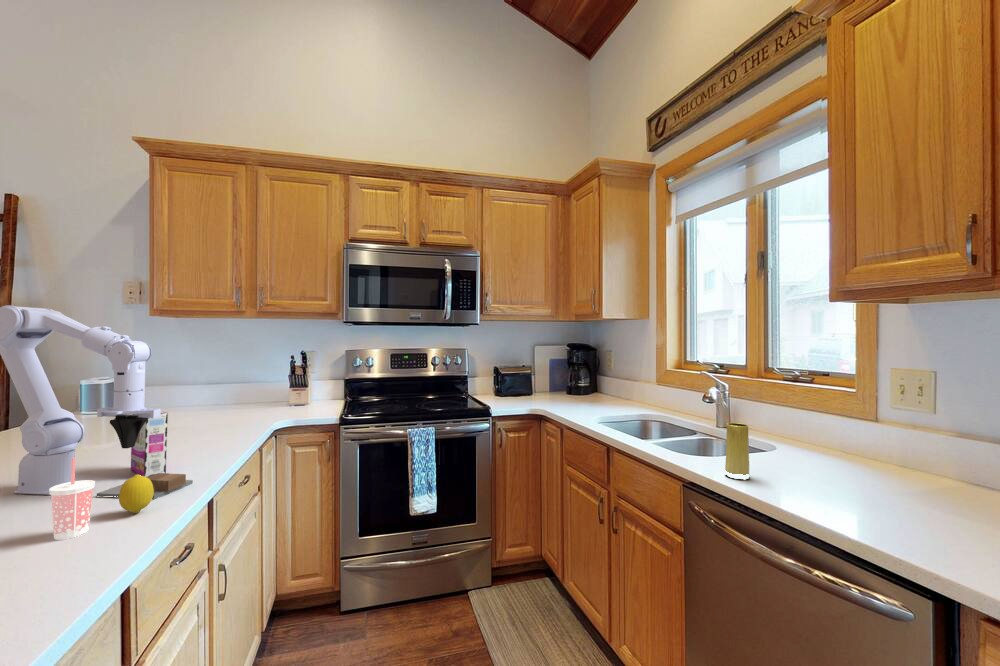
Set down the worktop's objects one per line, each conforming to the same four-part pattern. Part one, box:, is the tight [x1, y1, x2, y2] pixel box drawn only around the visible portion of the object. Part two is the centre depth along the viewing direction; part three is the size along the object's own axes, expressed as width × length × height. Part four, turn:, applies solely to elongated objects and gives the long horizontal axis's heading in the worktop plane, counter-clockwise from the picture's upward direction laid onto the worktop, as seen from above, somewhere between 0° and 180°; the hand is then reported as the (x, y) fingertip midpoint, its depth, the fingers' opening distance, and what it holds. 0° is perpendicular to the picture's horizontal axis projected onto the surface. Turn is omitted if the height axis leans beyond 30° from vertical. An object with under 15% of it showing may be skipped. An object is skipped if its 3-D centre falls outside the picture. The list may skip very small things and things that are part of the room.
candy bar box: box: [130, 410, 169, 477], centre depth 118 cm, size 11×5×16 cm, turn 55°
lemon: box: [118, 474, 154, 514], centre depth 91 cm, size 6×6×8 cm
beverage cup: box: [49, 457, 96, 541], centre depth 81 cm, size 6×6×14 cm
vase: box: [724, 422, 750, 475], centre depth 119 cm, size 6×6×14 cm
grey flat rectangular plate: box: [96, 479, 194, 500], centre depth 104 cm, size 14×11×1 cm
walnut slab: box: [147, 472, 187, 491], centre depth 104 cm, size 2×5×7 cm
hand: (128, 447), depth 105 cm, fingers closed
